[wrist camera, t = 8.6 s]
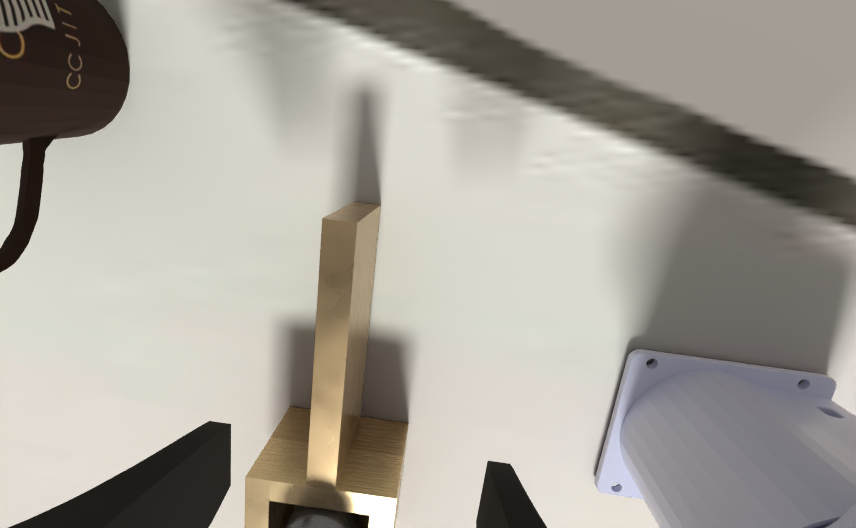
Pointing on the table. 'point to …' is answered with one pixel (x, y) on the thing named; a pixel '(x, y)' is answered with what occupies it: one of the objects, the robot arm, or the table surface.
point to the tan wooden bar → (334, 400)
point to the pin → (321, 518)
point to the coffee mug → (54, 89)
